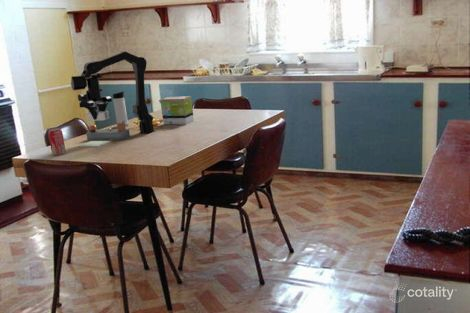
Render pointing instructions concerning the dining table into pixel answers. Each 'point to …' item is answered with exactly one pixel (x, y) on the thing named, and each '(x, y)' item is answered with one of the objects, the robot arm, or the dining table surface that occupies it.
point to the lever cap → (98, 115)
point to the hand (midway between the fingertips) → (98, 118)
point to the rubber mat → (94, 144)
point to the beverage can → (56, 141)
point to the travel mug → (120, 108)
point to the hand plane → (108, 133)
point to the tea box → (177, 110)
